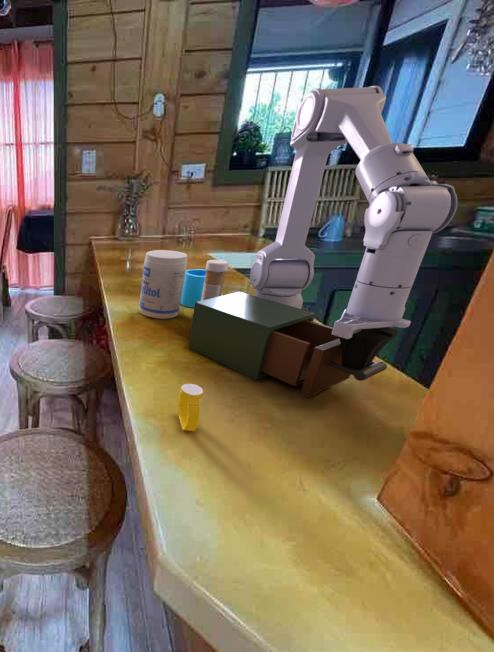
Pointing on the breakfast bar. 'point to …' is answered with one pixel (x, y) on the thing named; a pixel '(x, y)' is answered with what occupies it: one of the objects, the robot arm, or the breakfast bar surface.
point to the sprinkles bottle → (214, 279)
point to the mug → (193, 287)
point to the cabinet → (240, 329)
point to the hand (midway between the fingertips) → (351, 372)
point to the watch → (189, 406)
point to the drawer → (310, 358)
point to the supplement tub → (162, 283)
